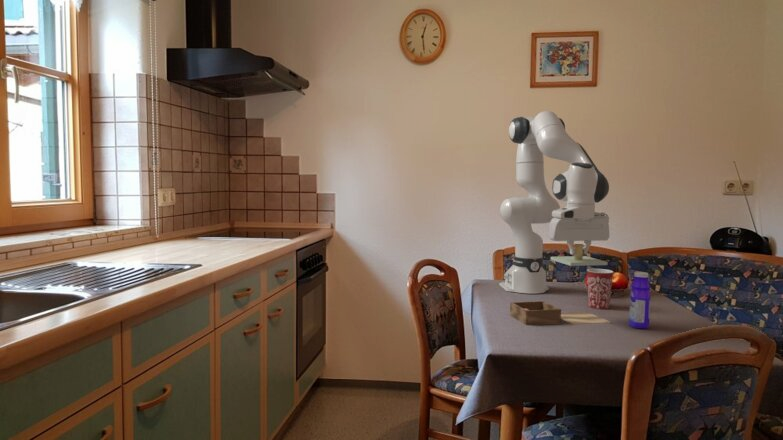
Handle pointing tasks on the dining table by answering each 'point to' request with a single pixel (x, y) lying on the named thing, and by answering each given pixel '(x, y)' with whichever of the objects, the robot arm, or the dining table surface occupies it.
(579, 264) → the lid
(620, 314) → the dining table surface
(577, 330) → the dining table surface
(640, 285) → the bottle
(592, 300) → the mug
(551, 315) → the box
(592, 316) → the mat
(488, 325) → the dining table surface
